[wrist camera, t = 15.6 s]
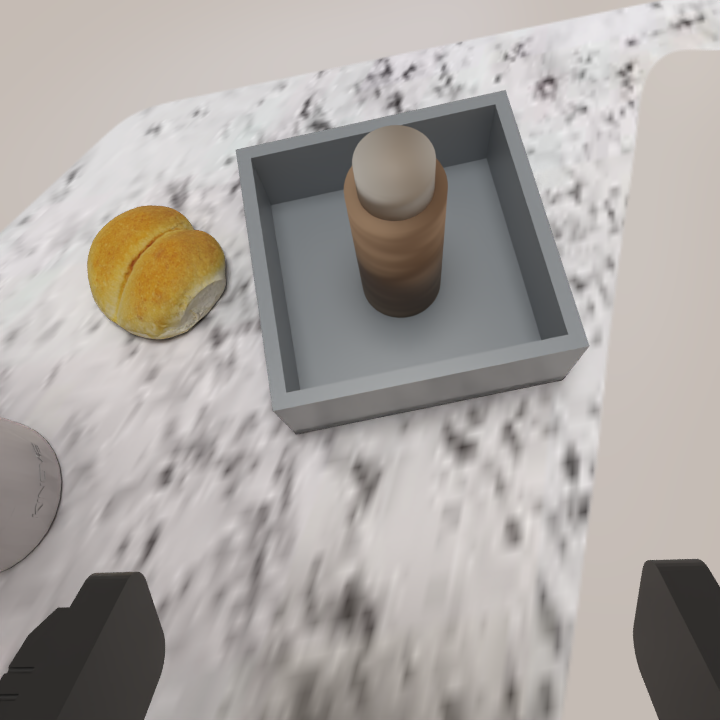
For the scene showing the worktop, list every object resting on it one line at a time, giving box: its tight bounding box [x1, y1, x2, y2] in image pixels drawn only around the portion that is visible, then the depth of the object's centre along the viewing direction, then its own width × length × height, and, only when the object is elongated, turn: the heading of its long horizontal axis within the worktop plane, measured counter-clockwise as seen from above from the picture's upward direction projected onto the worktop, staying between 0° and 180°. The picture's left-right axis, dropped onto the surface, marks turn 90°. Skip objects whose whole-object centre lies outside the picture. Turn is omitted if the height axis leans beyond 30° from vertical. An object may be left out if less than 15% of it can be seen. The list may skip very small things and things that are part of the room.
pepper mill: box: [344, 125, 448, 318], centre depth 32 cm, size 5×5×12 cm
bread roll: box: [87, 206, 226, 339], centre depth 39 cm, size 8×9×4 cm
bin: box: [236, 90, 589, 434], centre depth 36 cm, size 16×16×6 cm
